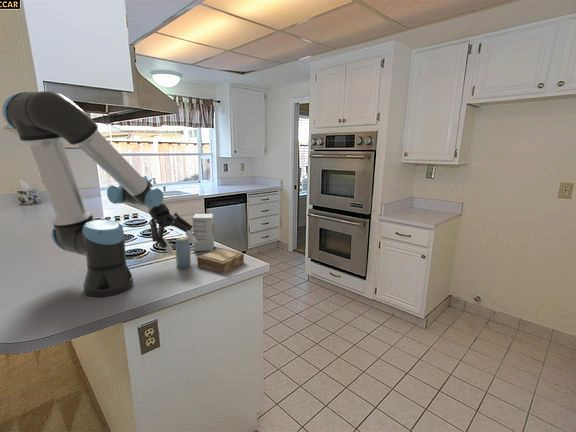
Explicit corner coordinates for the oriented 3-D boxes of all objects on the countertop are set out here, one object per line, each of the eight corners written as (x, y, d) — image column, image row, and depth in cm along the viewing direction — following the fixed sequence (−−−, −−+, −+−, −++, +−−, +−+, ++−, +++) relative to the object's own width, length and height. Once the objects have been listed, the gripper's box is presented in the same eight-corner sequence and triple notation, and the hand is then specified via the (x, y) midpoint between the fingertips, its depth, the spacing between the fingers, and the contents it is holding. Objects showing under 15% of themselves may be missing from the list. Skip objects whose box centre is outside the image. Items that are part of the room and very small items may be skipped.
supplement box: (212, 251, 146) (212, 217, 142) (193, 251, 144) (192, 217, 140) (214, 245, 155) (213, 213, 151) (195, 245, 153) (194, 213, 149)
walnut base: (223, 272, 122) (223, 263, 121) (197, 265, 128) (197, 256, 127) (243, 262, 134) (243, 253, 133) (219, 255, 140) (219, 247, 139)
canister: (183, 270, 123) (182, 241, 120) (173, 267, 125) (172, 238, 122) (193, 265, 128) (192, 237, 125) (183, 263, 130) (182, 235, 127)
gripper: (174, 208, 142) (199, 244, 140) (127, 219, 120) (155, 262, 118) (182, 198, 139) (208, 235, 136) (135, 208, 117) (164, 252, 114)
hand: (184, 247), depth 127 cm, fingers open, 13 cm apart
